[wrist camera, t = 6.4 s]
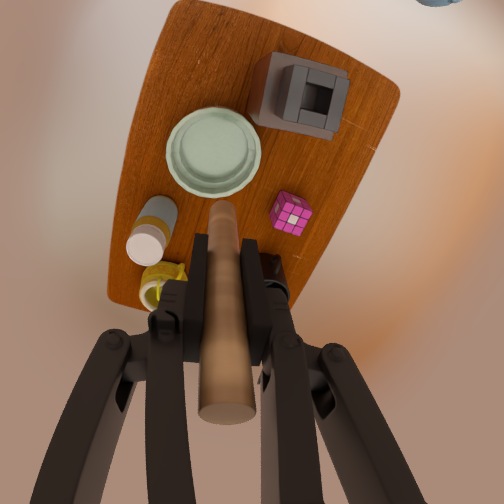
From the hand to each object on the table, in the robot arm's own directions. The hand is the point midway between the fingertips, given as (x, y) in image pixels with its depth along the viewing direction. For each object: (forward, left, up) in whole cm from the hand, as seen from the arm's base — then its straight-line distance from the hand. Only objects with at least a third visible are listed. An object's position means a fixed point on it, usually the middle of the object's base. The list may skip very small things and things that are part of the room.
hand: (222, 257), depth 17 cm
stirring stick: (0, 0, -6) cm, 6 cm away
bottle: (+16, -11, -39) cm, 43 cm away
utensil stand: (-10, +7, -39) cm, 41 cm away
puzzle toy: (+12, +14, -39) cm, 43 cm away
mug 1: (+32, -9, -39) cm, 51 cm away
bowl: (+2, -2, -39) cm, 39 cm away
